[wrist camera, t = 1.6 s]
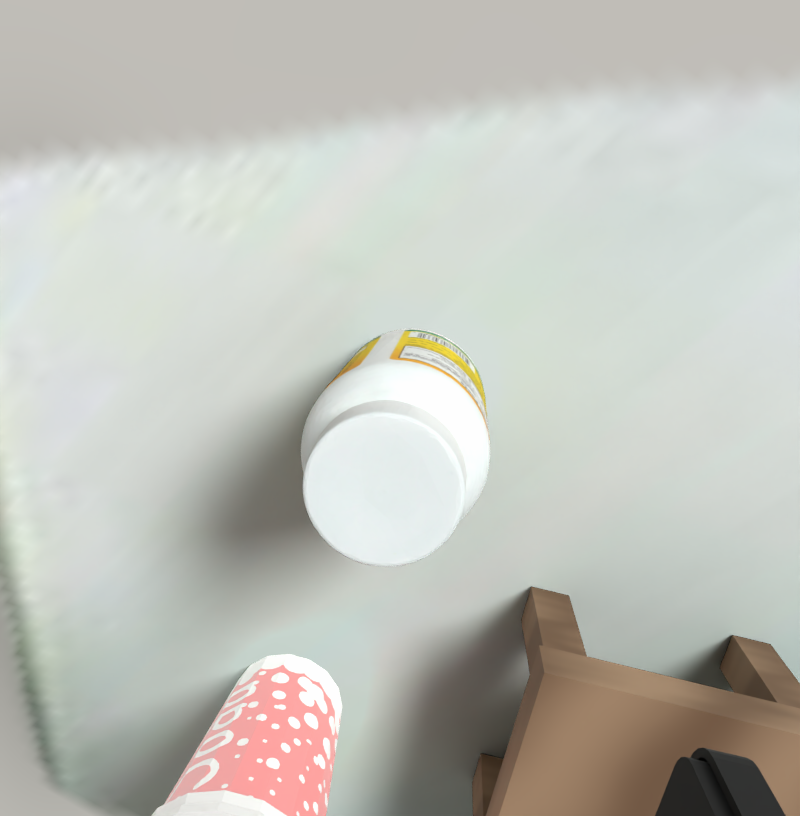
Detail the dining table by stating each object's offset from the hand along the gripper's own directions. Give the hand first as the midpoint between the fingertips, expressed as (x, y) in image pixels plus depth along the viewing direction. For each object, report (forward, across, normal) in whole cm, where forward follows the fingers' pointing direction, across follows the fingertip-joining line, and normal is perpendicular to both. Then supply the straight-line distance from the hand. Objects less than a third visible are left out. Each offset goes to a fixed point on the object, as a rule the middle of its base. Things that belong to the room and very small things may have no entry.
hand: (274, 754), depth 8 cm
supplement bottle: (+19, -1, 0) cm, 19 cm away
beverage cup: (+19, +1, +14) cm, 24 cm away
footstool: (+18, -12, +11) cm, 24 cm away
